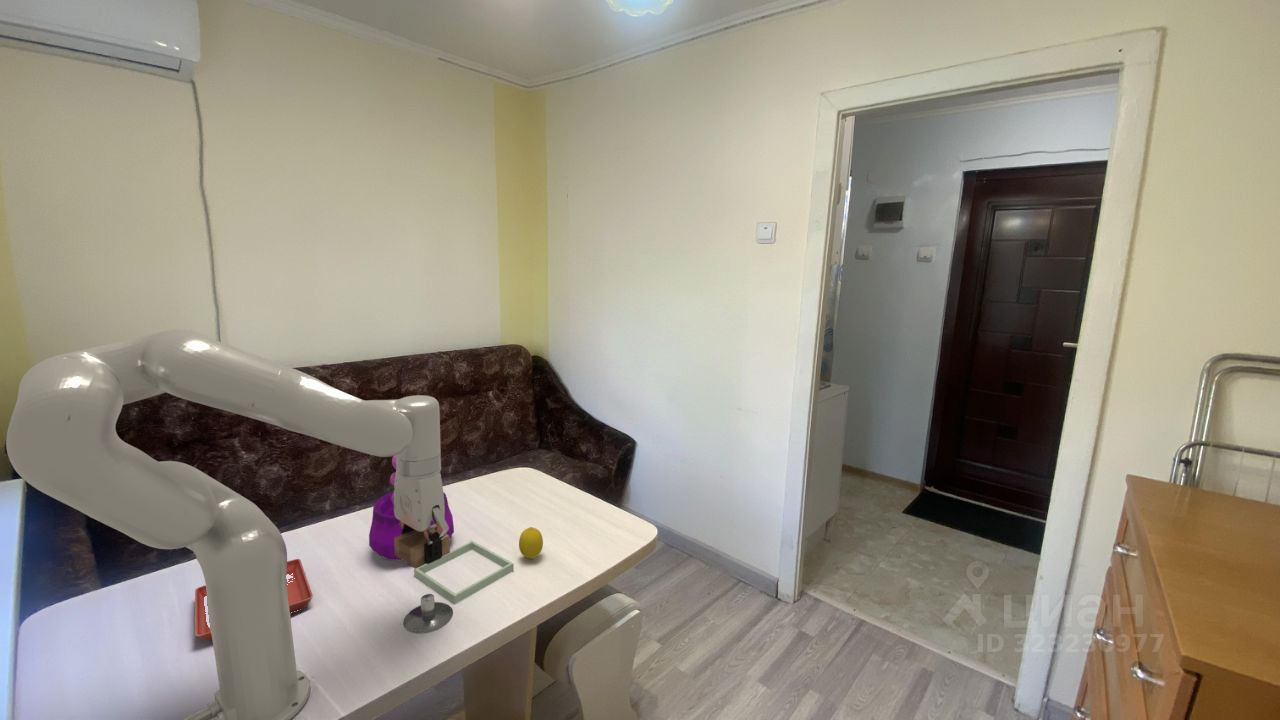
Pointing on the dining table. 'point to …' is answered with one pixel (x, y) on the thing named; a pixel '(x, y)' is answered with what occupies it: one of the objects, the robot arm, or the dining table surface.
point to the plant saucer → (296, 592)
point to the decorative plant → (393, 523)
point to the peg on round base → (428, 616)
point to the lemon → (530, 542)
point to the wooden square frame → (416, 547)
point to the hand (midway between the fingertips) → (421, 552)
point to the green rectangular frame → (472, 588)
